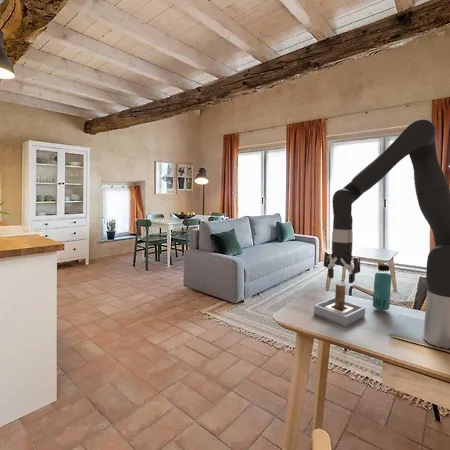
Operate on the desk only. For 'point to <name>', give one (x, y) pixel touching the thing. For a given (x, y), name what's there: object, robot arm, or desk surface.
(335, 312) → the box
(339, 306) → the peg
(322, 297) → the desk surface
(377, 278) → the beverage bottle
